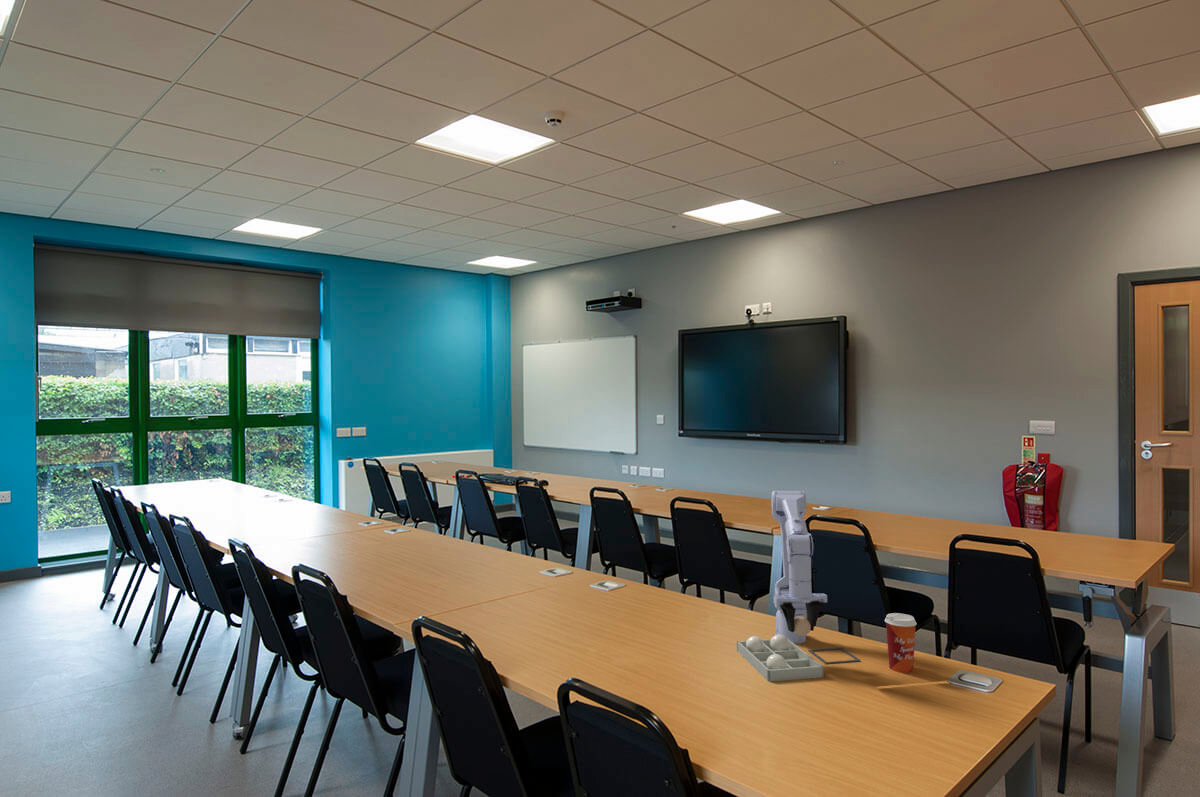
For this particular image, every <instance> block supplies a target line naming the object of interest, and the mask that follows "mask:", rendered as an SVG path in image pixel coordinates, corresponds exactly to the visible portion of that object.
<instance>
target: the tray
mask: <svg viewBox="0 0 1200 797" xmlns="http://www.w3.org/2000/svg"><path fill="white" fill-rule="evenodd" d="M762 640H763V642H764V650H763V652H756V653H751V652H750V651H749V650H748V649H747V648H746V641H747V640H741V641H740V640H739V641H736V652H737V653H738V654H740V656H742V658H743V659H745V660H746V661H747V662H748V663H749V665H750V666H752V667H753V668H754V670H756V671H757V672H758V673H759V674H760V675H761V676H762V677H763V679H764V680H766V681H767V682H777V681H778V682H779V681H790V680H791V681H792V680H805V679H817V678H824V677H825V676H824V675H825V673H824V672H825V671H824V670H825V669H824V668H825V667H824V665H822V664H821V663H820V662H818V661H817V660H816V659H815V658H814V657H812V656H811V655H809V654H808V653H807V652H805V651H804V650H803V649H801V648H800V647H799V646H798V645H796V643H793V642H791V641H790V640H789V639H787V640H788V642H789V647H788V650H784V651H773V650H772V648H771V645H770V641H771V638H769V639H766V638H765V639H762ZM772 654H778V655H781V656H782V657H783V658H784V659H785V661H786V668H785V669H772V670H769V669H768V668H767V666H766V661H767V659H768V657H769V656H770V655H772Z"/></svg>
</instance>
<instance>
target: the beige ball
mask: <svg viewBox="0 0 1200 797" xmlns="http://www.w3.org/2000/svg"><path fill="white" fill-rule="evenodd" d="M810 629H811V625H810V622H809V620H808V619H807V617H806V616H805V617H802V616H798V617H796V618H794V633H795V634H797V635H799V636H804V635H806V636H807V635H809V634H810V631H811V630H810Z"/></svg>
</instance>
